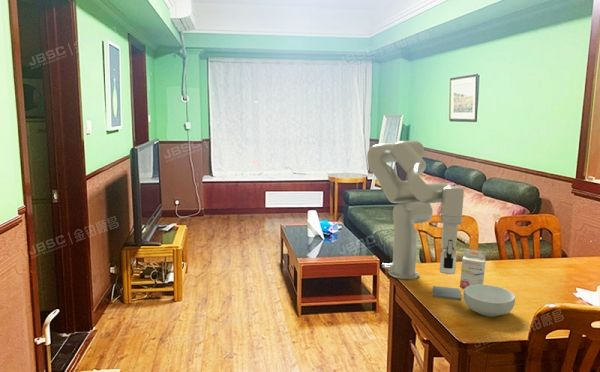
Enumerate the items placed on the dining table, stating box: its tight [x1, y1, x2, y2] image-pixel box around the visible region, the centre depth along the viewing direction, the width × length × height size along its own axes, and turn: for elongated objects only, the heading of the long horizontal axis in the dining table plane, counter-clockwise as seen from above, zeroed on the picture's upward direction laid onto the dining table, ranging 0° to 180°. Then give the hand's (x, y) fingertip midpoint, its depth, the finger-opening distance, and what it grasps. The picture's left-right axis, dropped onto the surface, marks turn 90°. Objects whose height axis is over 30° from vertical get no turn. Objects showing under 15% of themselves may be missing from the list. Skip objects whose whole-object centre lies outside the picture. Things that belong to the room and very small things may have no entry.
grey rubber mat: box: [432, 285, 462, 301], centre depth 179 cm, size 10×10×1 cm
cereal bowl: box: [463, 284, 516, 318], centre depth 163 cm, size 17×17×7 cm
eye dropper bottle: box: [439, 248, 457, 275], centre depth 177 cm, size 4×6×12 cm
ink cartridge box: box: [459, 248, 486, 289], centre depth 186 cm, size 9×5×15 cm, turn 65°
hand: (447, 265), depth 178 cm, fingers closed on eye dropper bottle, 3 cm apart
